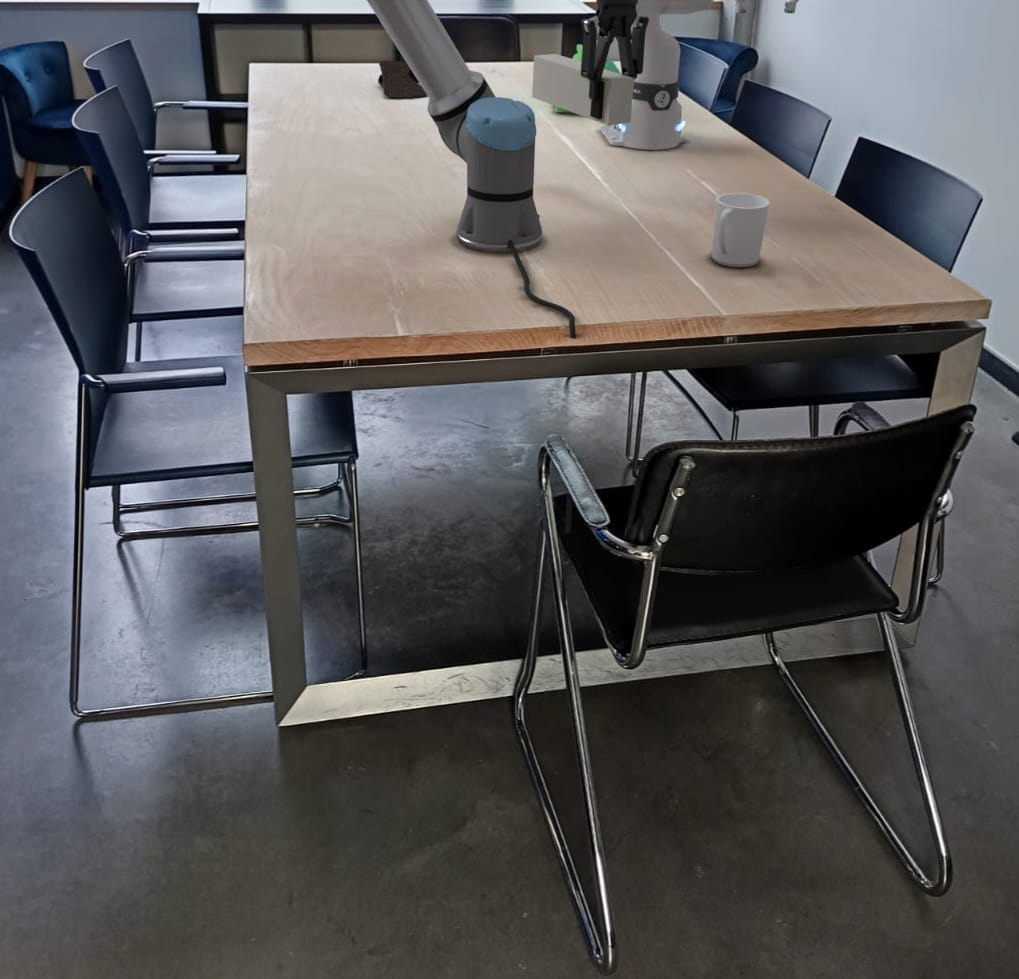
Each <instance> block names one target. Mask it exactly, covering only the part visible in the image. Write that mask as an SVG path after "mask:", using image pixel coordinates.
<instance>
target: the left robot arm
mask: <svg viewBox="0 0 1019 979" xmlns="http://www.w3.org/2000/svg"><path fill="white" fill-rule="evenodd" d="M595 1H596V4H597V5H596V6H597V8H596V11H595V13H594V16H593V17H590V18H589V19H587V18H583V19H582V20H581V28H582V31H583V35H582V46H583V47H582V61H581V76H582V77H584V78H587V79H589V82H590V83H589V99H591V113H590V116H591V117H594V118H597V119H602V112H603V98H604V84H605V82H602V81H601V78H602V74H603V71H604V67H605V63H606V61H607V60H608V56H609V52H610V49H611V45H612V44H613V43H614V39H615V40H616V41H617V46H618V48H617V49H618V55H619V62H620V70H621V71H620V72H621V74H622V75H625V76H629V77H632V78H634V79H636V78H637V74H641V73H642V72H643V61H644V46H645V32H646V28H647V25H648V22H649V18H648V17H644V16H640V15H637V11H636V5H637V4H638V0H595ZM366 2H367V3H368V5H369V7H370V8H371V10H372V12H374V14H375V16H376V18H377V19H378V20H379V22H380V24H381V26H382V27H383V28H384V30H385V31H386V33H387V34H388V36H389V38H390V39H391V41H392V42H393V44H394V45H395V47H396V49H397V50H398V51H399V53H400V55H401V56H402V58H403V59H404V62H406V63H407V64H408V66H409V67H410V69H411V70H412V72H413V73H414V75H415V77H416V78H417V80H418V81H419V85H420V86H422V88H423V89H424V91H425V92H426V94H427V95H426V96H427V97H428V102H427V107H426V111H427V113H428V115H429V116H430V117H431V119H432V121H433V122H434V123H435V125H436V127H437V130H438V133H439V135H440V138H441V140H442V142H443V144H444V145H445V146H446V147H447V149H449V151H451V152H452V153H453V154H454V155H456V156H458V157H459V158H460V159H462V160H463V161H464V162H465V164H466V192H467V193H466V198H465V202H464V205H463V209H462V211H461V214H460V218H459V220H458V224H457V228H456V241H457V243H458V244H459V245H461V246H462V247H464V248H466V249H468V250H470V251H475V252H479V253H486V254H497V255H499V254H500V255H506V254H507V255H508V254H512V257H513V259H514V261H515V263H516V266H517V267H518V270H519V272H520V274H521V276H522V279H523V290H524V293H525V295H526V296H527V297H528V299H529V300H531V301H532V302H534V303H535V304H538V305H540V306H543V307H546V308H549V309H551V310H553V311H556V312H559V313H561V314H563V315H564V316H565V317H566V318H568V320H569V321H568V323H569V324H568V325H569V326H568V327H569V338H570V339H573V340H574V339H577V333H576V317H575V315H574V314H573V313H572V312H571V311H570V310H568V309H567V308H566V307H564V306H562V305H559V304H556V303H553V302H551V301H548V300H545V299H542V298H540V297H538V296H536V295H535V294H534V293H532V291H531V289H530V277H529V276H528V272H527V270H526V268H525V266H524V265H523V262H522V260H521V258H520V255H519V253H524V252H527V251H530V250H533V249H536V248H538V247H539V246H540V245H541V244H542V243H543V229H542V224H541V221H540V220H541V219H540V214H538V213H539V212H538V210H537V206H536V204H535V199H534V184H535V158H536V156H535V155H536V136H537V124H536V116H535V112H534V110H533V109H532V108H531V107H530V106H529V105H528V104H526V103H525V102H522V101H520V100H514V99H513V98H509V97H500V96H496V95H495V93H494V91H493V90H492V88H491V86H490V85H489V83H488V82H487V79H486V78H485V77H484V75H483V74H482V73H481V72H479V71H474V70H470V69H469V67H468V65H467V64H466V62H465V60H464V58H463V57H462V55H461V53H460V52H459V50H458V49H457V46H456V45H455V43H454V41H453V40H452V39H451V37H450V35H449V33H448V32H447V30H446V29H445V27H444V25H443V23H442V22H441V20H440V19H439V17H438V15H437V13H436V12H435V10H434V9H433V7H432V5H431V3H430V1H429V0H366ZM632 25H633V29H632V33H631V26H632ZM597 31H598V32H597ZM631 40H632V42H631ZM572 511H573V499H572V500H571V498H570V496H569V494H568V492H567V494H566V508H565V524H564V525H565V526H564V534H565V533H567V534H568V533H570V534H571V527H572V513H573V512H572ZM569 560H570V557H569V558H568V555H567V554H566V553H565V552H564V551H563V561H564V562H568V561H569Z"/></svg>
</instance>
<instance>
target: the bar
mask: <svg viewBox="0 0 1019 979" xmlns="http://www.w3.org/2000/svg"><path fill="white" fill-rule="evenodd" d="M601 81H602V82H605V84H604V98H603V112H602V119H597V118H594V117H591V116H590V113H591V99H589V83H590V82H589V79H587V78H584V77H582V76H581V62H580V61H577V60H574V59H572V58H570V57H567V56H563V55H561V54H557V53H547V54H537V55H533V70H532V93H531V94H532V96H531V97H532V98H533V99H536V100H538V101H541V102H544V103H546V104H549V105H552V106H554V107H555V106H557V107H560V108H563V109H565V110H568V111H571V112H570V113H574V114H576V115H579V116H582V117H584V118H587V119H590V120H591V121H595V122H598V123H600V124H603V125H617V124H625V123H630V121H631V110H632V98H633V87H634V78H632V77H629V76H625V75H622V73H621V74H619V73H616V72H612V71H609V70H606V69H604V71H603V74H602V78H601Z"/></svg>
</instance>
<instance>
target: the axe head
mask: <svg viewBox="0 0 1019 979" xmlns="http://www.w3.org/2000/svg"><path fill="white" fill-rule="evenodd" d="M378 66H379V68H380V72H381V74H379V75H378V79H377V84H378V85H379V86H380V87H381V88H382V89H383V95H384V96H385V97H388V98H394V99H395V98H396V99H403V98H405V99H406V98H407V99H411V98H418V97H425V96H428V95H427V94H426V92H425V91H424V89H423V88H422V86H421V84H420V83H419V81H418V80H417V78H416V77H415V75H414V73H413V72H412V70H411V69H410V67H409V66H408V64H407V63H406V61H397V60H388V59H387V60H380V61H379V62H378Z"/></svg>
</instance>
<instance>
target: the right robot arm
mask: <svg viewBox="0 0 1019 979" xmlns="http://www.w3.org/2000/svg"><path fill="white" fill-rule="evenodd" d="M714 1H715V0H638V4H637V5H636V11H637V15H640V16H644V17H648V18H649V22H648V25H647V28H646V32H645V46H644V61H643V72H642V73H641V74H637V78H636V79H634V87H633V98H632V110H631V121H630V123H625V124H617V125H606V124H604V125H602V126H600V132H601V133H602V135H603V136H604V138H605V139H606V141H607V142H608V144H609V145H611V146H615V147H625V148H629V149H635V150H646V151H647V150H648V151H651V150H652V151H654V150H656V151H657V150H658V151H659V150H668V149H672V148H673V149H674V148H676V147H678V146H679V145H680V144H681V143H685V142H686V136H685V135H683V134H682V129H683V128H684V126H685V125H686V120H683V121H682V116H683V113H682V112H683V108H682V107H683V106H682V104H681V103H679V101H678V98H679V91H680V81H679V80H678V78H679V69H680V58H681V46H680V44H679V42H678V39H676V38H675V37H674V36H673V35H671V34H670V33H669V32H667V31H665V30H663V29H662V27H661V21H660V20H661V19H660V18H661V16H662V15H664V16H665V15H689V14H693V13H694V14H695V13H698V12H701V11H705V10H707V9H709V8H710V7H711V5H712V4H713V2H714ZM734 1H735V13H736V14H746V13H747V7H748V3H747V2H745V1H743V0H734ZM799 1H800V0H789V1H785V2H784V10H783V13H785V14H795V12H796V9H797V8H796V7H797V4H798V2H799ZM632 29H633V25H632V26H631V33H632ZM631 42H632V40H631Z"/></svg>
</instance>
